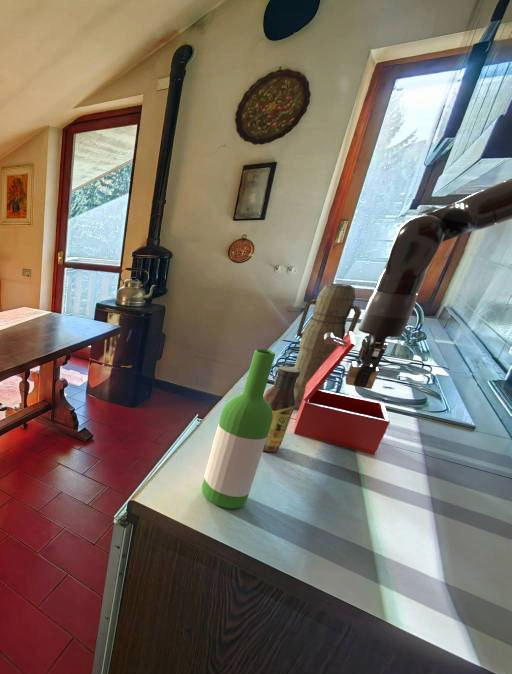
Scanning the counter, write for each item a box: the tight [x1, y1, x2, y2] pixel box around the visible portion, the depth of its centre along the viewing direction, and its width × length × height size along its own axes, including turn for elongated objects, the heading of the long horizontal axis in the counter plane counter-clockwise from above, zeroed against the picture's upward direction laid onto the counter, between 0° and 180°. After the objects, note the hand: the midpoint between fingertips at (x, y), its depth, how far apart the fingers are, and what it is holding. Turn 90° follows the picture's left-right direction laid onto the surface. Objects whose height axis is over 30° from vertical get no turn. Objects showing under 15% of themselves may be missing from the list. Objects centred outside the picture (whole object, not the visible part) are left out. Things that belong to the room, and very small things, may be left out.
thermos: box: [293, 283, 362, 411], centre depth 108 cm, size 9×12×35 cm
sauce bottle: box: [263, 365, 300, 453], centre depth 90 cm, size 7×6×20 cm
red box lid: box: [304, 332, 356, 401], centre depth 97 cm, size 16×13×5 cm
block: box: [345, 361, 380, 390], centre depth 93 cm, size 5×5×5 cm
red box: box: [293, 390, 391, 456], centre depth 98 cm, size 16×13×9 cm
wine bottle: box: [201, 348, 276, 510], centre depth 70 cm, size 8×8×30 cm
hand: (358, 382), depth 93 cm, fingers closed on block, 4 cm apart
